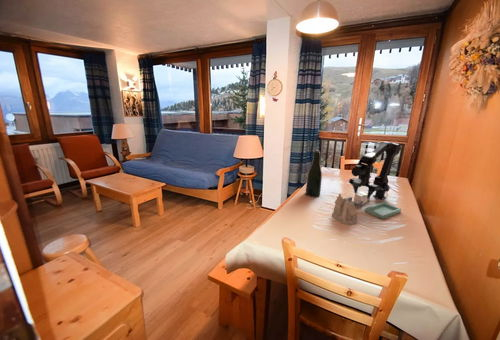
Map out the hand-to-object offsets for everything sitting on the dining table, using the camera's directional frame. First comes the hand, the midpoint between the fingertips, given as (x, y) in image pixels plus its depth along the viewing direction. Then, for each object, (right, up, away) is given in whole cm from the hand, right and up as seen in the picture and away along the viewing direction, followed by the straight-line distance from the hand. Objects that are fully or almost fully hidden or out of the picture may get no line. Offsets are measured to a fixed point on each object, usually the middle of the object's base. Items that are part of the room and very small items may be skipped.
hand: (361, 196), depth 150 cm
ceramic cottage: (-19, -11, -20) cm, 30 cm away
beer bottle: (-30, 0, +13) cm, 32 cm away
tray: (+7, -8, -13) cm, 17 cm away
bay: (-7, -5, -3) cm, 9 cm away
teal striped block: (+2, -4, +2) cm, 5 cm away
